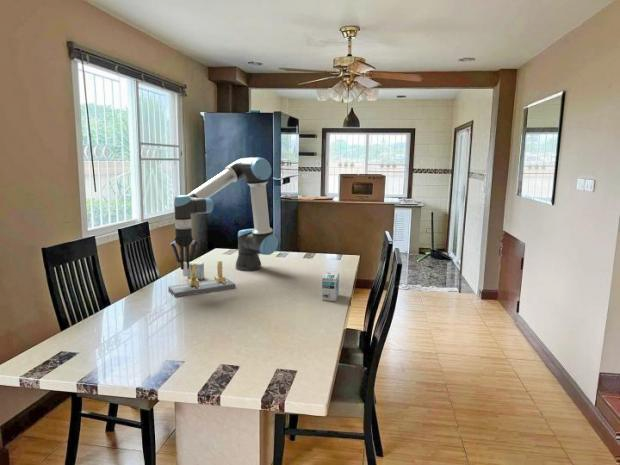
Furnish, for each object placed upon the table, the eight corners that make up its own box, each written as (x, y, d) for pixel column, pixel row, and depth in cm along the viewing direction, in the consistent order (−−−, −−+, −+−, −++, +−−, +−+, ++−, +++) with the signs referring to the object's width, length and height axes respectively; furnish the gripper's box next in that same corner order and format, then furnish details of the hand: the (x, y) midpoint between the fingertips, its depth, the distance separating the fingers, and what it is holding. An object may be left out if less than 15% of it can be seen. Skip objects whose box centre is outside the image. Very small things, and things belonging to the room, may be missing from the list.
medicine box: (204, 277, 238) (204, 262, 237) (201, 280, 234) (201, 264, 232) (190, 277, 239) (189, 261, 238) (187, 279, 235) (186, 263, 233)
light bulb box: (335, 301, 202) (336, 278, 200) (321, 300, 203) (321, 277, 201) (339, 294, 212) (339, 272, 211) (325, 293, 214) (325, 272, 212)
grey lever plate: (226, 281, 231) (226, 258, 229) (235, 287, 221) (235, 263, 219) (168, 290, 215) (167, 265, 213) (174, 297, 205) (173, 271, 203)
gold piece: (196, 282, 221) (195, 262, 219) (201, 287, 213) (201, 266, 211) (188, 283, 219) (187, 263, 217) (193, 288, 211) (192, 267, 209)
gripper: (171, 229, 204) (173, 279, 208) (199, 227, 211) (200, 275, 215) (167, 227, 210) (169, 275, 214) (194, 225, 217) (196, 272, 221)
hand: (185, 275), depth 215 cm, fingers closed
